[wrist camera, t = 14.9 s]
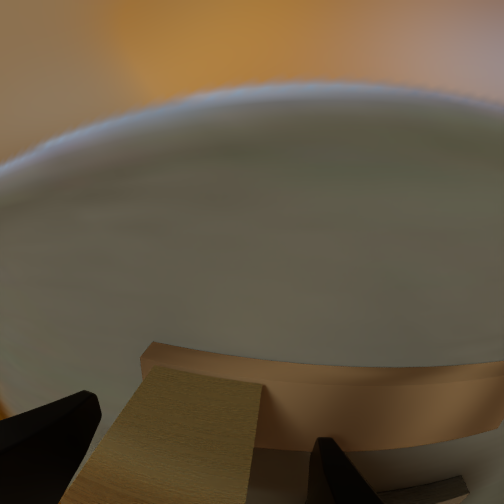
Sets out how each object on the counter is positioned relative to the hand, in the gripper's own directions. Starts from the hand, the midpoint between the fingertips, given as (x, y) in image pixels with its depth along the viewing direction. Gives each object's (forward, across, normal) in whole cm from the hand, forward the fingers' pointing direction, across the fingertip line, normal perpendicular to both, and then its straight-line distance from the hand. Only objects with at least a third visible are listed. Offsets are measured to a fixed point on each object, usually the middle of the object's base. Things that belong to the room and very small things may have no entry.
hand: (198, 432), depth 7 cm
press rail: (+2, -5, 0) cm, 5 cm away
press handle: (+1, 0, 0) cm, 1 cm away
